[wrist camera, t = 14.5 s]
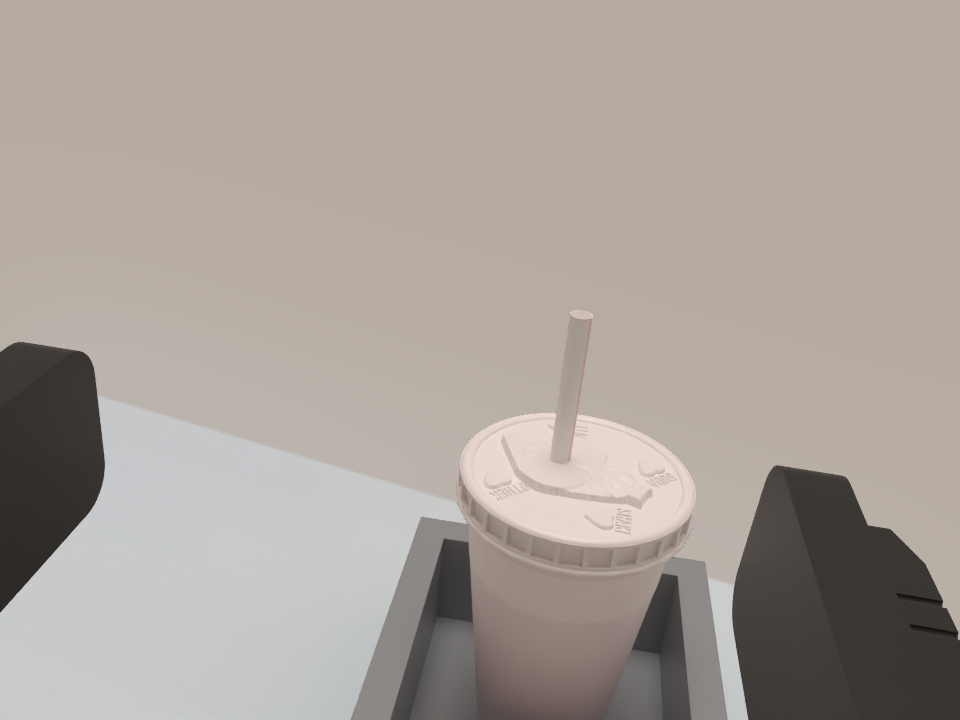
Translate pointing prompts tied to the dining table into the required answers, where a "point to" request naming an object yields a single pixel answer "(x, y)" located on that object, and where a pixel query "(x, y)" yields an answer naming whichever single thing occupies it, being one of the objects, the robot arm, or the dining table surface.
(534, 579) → the smoothie
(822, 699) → the robot arm
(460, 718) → the box
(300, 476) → the dining table surface
